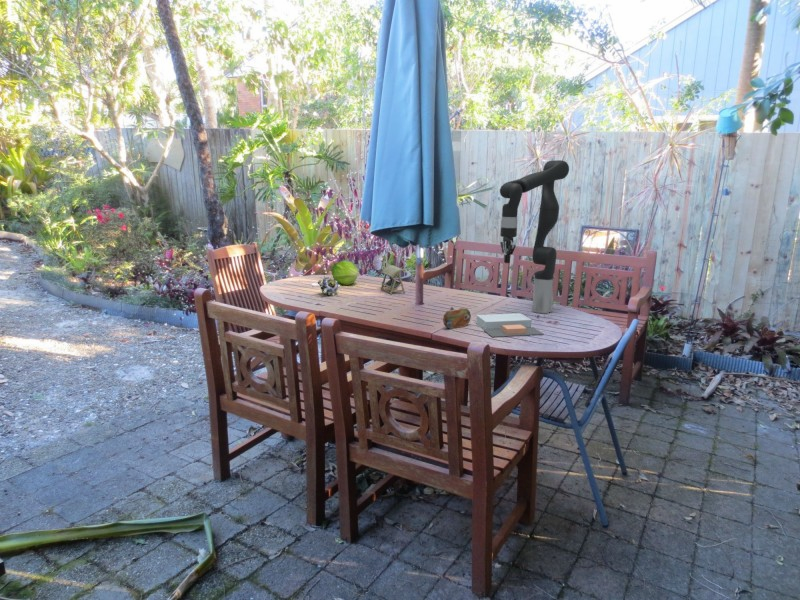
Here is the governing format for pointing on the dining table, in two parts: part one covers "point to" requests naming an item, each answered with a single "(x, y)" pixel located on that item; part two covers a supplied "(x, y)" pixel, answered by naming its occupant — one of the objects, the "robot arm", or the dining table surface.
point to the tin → (456, 318)
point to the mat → (500, 333)
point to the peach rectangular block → (513, 329)
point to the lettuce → (345, 272)
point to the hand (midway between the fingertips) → (506, 262)
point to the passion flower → (329, 285)
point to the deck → (502, 320)
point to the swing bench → (392, 283)
